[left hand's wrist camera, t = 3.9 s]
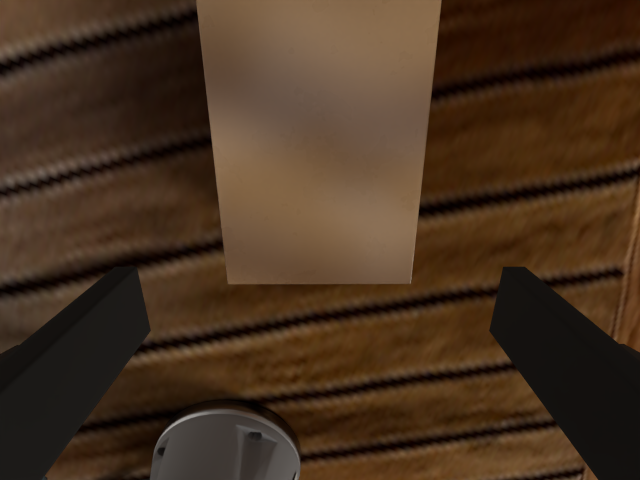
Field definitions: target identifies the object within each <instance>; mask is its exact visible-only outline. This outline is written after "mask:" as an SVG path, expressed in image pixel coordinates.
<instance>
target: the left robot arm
mask: <svg viewBox="0 0 640 480" xmlns="http://www.w3.org/2000/svg"><path fill="white" fill-rule="evenodd" d="M150 331H151V330H150V326H149V321H148V316H147V312H146V307H145V303H144V298H143V293H142V289H141V284H140V280H139V275H138V271H137V267H115V268H113V269H112V270H111V271H110V272H108V273H107V274H106V275H105V276H104V277H102V278H101V279H100V280H99V281H97V282H96V283H95V284H94V285H93V286H91V287H90V288H89V289H88V290H86V291H85V292H84V293H83V294H82V295H80V296H79V297H78V298H77V299H75V300H74V301H73V302H72V303H71V304H69V305H68V306H67V307H66V308H64V309H63V310H62V311H61V312H60V313H58V314H57V315H56V316H55V317H53V318H52V319H51V320H50V321H49V322H47V323H46V324H45V325H44V326H42V327H41V328H40V329H39V330H38V331H36V332H35V333H34V334H33V335H31V336H30V337H29V338H28V339H27V340H25V341H24V342H23V343H22V344H20V345H16V346H14V347H13V348H11V349H9V350H7V351H5V352H3V353H2V354H0V480H47V477H45V475H46V473H47V472H48V470H49V469H50V468H51V466H52V465H53V464H54V462H55V461H56V459H57V458H58V457H59V455H60V454H61V453H62V451H63V450H64V449H65V447H66V446H67V444H68V443H69V442H70V440H71V439H72V438H73V436H74V435H75V434H76V432H77V431H78V429H79V428H80V427H81V425H82V424H83V423H84V421H85V420H86V418H87V417H88V416H89V414H90V413H91V412H92V410H93V409H94V408H95V406H96V405H97V403H98V402H99V401H100V399H101V398H102V397H103V395H104V394H105V393H106V391H107V390H108V388H109V387H110V386H111V384H112V383H113V382H114V380H115V379H116V377H117V376H118V375H119V373H120V372H121V371H122V369H123V368H124V367H125V365H126V364H127V362H128V361H129V360H130V358H131V357H132V356H133V354H134V353H135V351H136V350H137V349H138V347H139V346H140V345H141V343H142V342H143V341H144V339H145V338H146V336H147V335H148V334H149V332H150ZM489 331H490V332H491V334H492V335H493V336H494V338H495V339H496V341H497V342H498V343H499V345H500V346H501V347H502V349H503V350H504V352H505V353H506V354H507V356H508V357H509V358H510V360H511V361H512V362H513V364H514V365H515V367H516V368H517V369H518V371H519V372H520V373H521V375H522V376H523V377H524V379H525V380H526V382H527V383H528V384H529V386H530V387H531V388H532V390H533V391H534V393H535V394H536V395H537V397H538V398H539V399H540V401H541V402H542V403H543V405H544V406H545V408H546V409H547V410H548V412H549V413H550V414H551V416H552V417H553V418H554V420H555V421H556V423H557V424H558V425H559V427H560V428H561V429H562V431H563V432H564V434H565V435H566V436H567V438H568V439H569V440H570V442H571V443H572V444H573V446H574V447H575V449H576V450H577V451H578V453H579V454H580V455H581V457H582V458H583V459H584V461H585V462H586V464H587V465H588V466H589V468H590V469H591V470H592V472H593V473H594V475H595V476H596V477H597V479H598V480H640V353H639V352H638V351H636V350H634V349H632V348H630V347H628V346H626V345H625V344H618V343H617V342H616V341H615V340H613V339H612V338H611V337H610V336H609V335H607V334H606V333H605V332H604V331H602V330H601V329H600V328H599V327H598V326H596V325H595V324H594V323H593V322H591V321H590V320H589V319H588V318H587V317H585V316H584V315H583V314H582V313H580V312H579V311H578V310H577V309H576V308H574V307H573V306H572V305H571V304H569V303H568V302H567V301H566V300H565V299H563V298H562V297H561V296H560V295H558V294H557V293H556V292H555V291H554V290H552V289H551V288H550V287H549V286H547V285H546V284H545V283H544V282H543V281H541V280H540V279H539V278H538V277H536V276H535V275H534V274H533V273H532V272H530V271H529V270H528V269H527V268H525V267H503V271H502V275H501V280H500V284H499V289H498V293H497V298H496V303H495V307H494V312H493V316H492V321H491V326H490V330H489ZM300 464H301V449H300V444H299V441H298V439H297V437H296V435H295V433H294V432H293V430H292V429H291V428H290V427H289V426H288V424H287V423H286V422H284V421H283V420H282V419H281V418H279V417H278V416H277V415H275V414H273V413H272V412H270V411H268V410H266V409H264V408H261V407H259V406H256V405H253V404H250V403H245V402H240V401H231V400H216V401H208V402H203V403H199V404H196V405H193V406H190V407H188V408H186V409H184V410H182V411H181V412H179V413H178V414H176V415H175V416H174V417H173V418H172V419H171V420H170V421H169V422H168V423H167V425H166V426H165V428H164V430H163V431H162V434H161V436H160V438H159V440H158V442H157V444H156V447H155V450H154V454H153V460H152V468H151V476H150V479H142V480H298V479H299V475H300Z"/></svg>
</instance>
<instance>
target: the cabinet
mask: <svg viewBox="0 0 640 480" xmlns="http://www.w3.org/2000/svg"><path fill="white" fill-rule="evenodd" d="M196 4H197V13H198V22H199V31H200V40H201V49H202V57H203V66H204V75H205V84H206V93H207V102H208V111H209V120H210V129H211V138H212V147H213V156H214V165H215V173H216V182H217V191H218V200H219V209H220V218H221V227H222V236H223V245H224V254H225V263H226V272H227V280H228V284H411V277H412V268H413V258H414V249H415V240H416V231H417V222H418V212H419V203H420V194H421V185H422V175H423V166H424V157H425V148H426V138H427V129H428V120H429V111H430V101H431V92H432V83H433V74H434V64H435V55H436V46H437V37H438V27H439V18H440V9H441V0H196Z"/></svg>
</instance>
